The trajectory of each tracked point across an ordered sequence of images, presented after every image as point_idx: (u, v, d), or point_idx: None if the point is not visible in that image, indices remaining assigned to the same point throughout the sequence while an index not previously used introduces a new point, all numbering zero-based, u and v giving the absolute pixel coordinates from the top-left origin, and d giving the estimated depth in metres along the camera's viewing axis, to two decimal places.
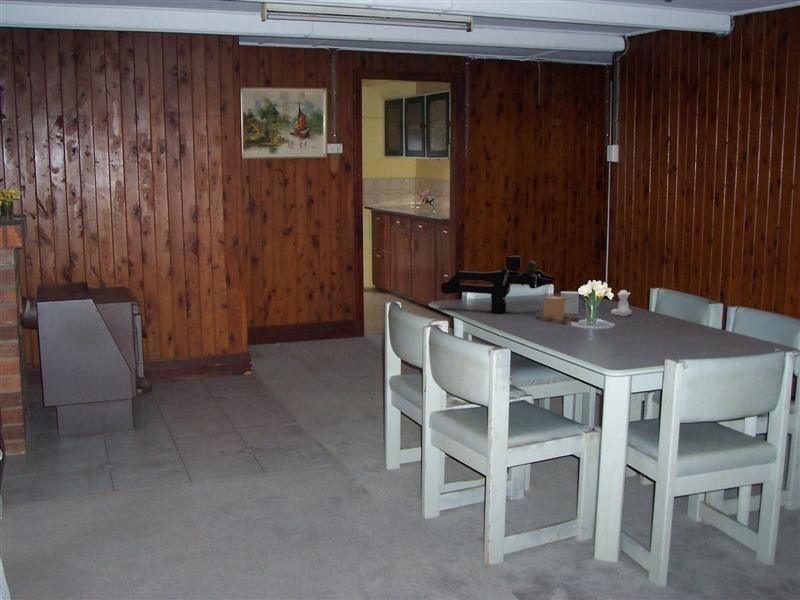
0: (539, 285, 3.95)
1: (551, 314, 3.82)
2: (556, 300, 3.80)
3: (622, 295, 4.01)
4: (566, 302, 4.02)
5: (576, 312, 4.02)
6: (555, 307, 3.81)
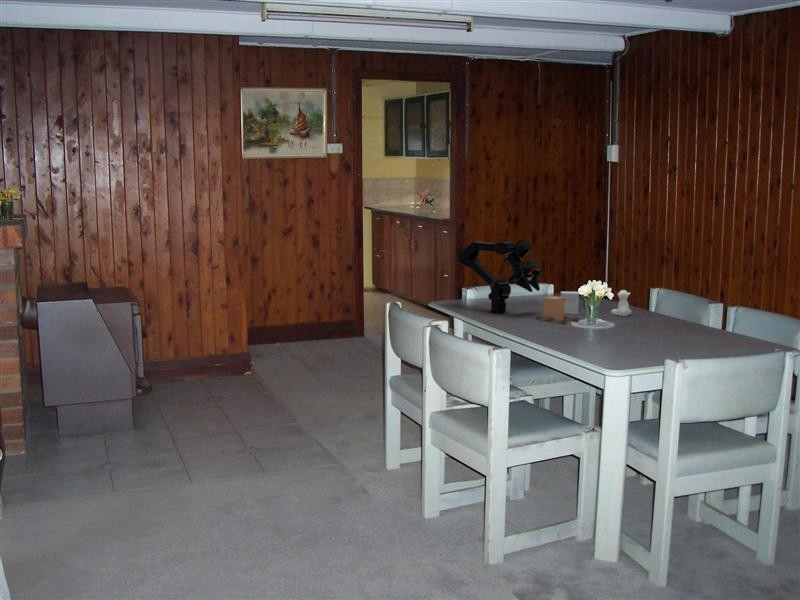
0: (519, 284, 3.92)
1: (551, 314, 3.82)
2: (556, 300, 3.80)
3: (622, 295, 4.01)
4: (566, 302, 4.02)
5: (576, 312, 4.02)
6: (555, 307, 3.81)
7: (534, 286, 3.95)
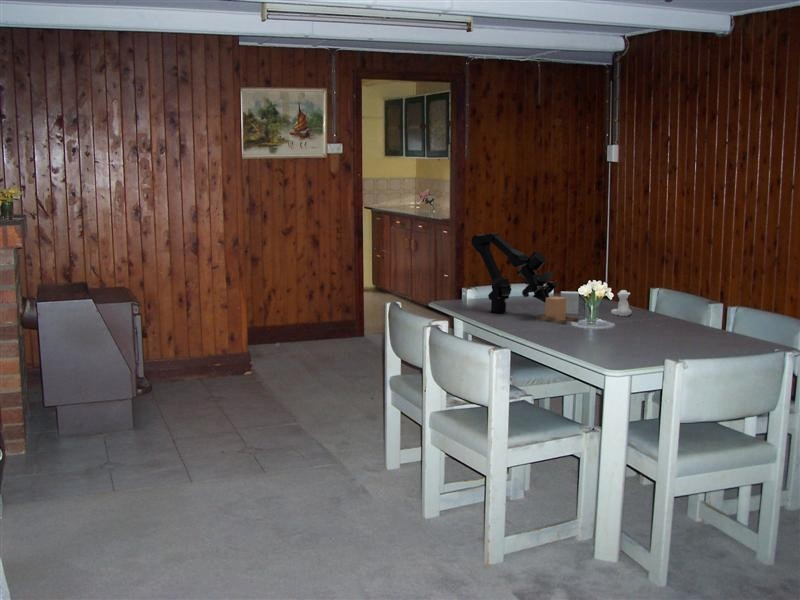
0: (537, 297, 3.88)
1: (552, 314, 3.81)
2: (558, 300, 3.80)
3: (622, 295, 4.01)
4: (566, 302, 4.02)
5: (576, 312, 4.02)
6: (557, 307, 3.80)
7: None
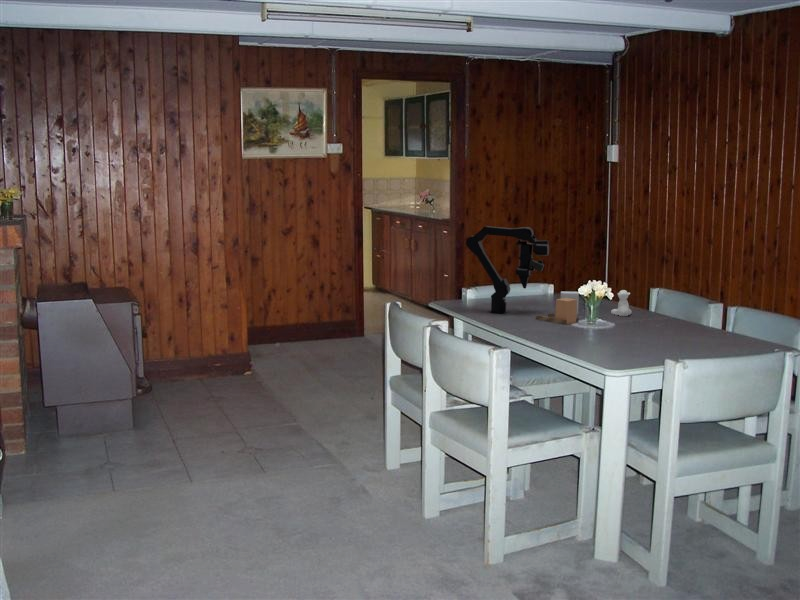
0: (520, 276, 4.01)
1: (563, 316, 3.77)
2: (569, 302, 3.76)
3: (622, 295, 4.01)
4: None
5: None
6: (568, 309, 3.76)
7: None
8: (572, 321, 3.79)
